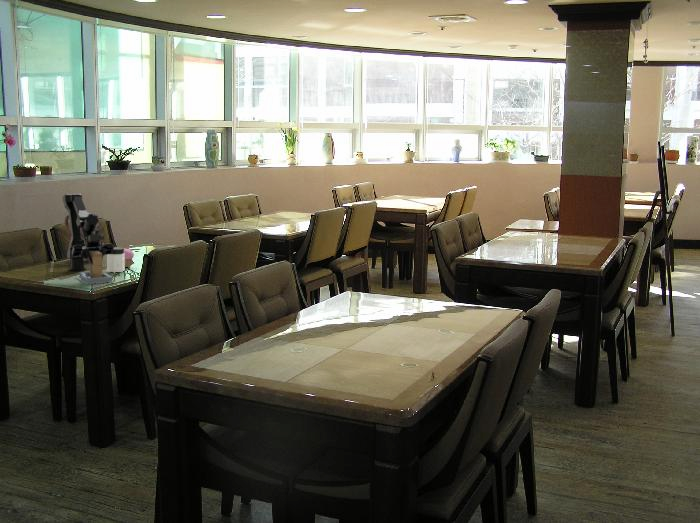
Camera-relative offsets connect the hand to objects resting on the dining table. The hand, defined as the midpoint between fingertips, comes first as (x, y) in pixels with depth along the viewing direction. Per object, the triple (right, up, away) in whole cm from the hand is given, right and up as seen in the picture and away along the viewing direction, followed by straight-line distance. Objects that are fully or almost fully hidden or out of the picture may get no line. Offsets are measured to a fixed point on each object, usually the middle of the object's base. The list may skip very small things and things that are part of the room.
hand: (96, 264), depth 370 cm
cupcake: (+2, -2, +40) cm, 40 cm away
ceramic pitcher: (-26, +2, +59) cm, 65 cm away
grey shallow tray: (-3, -8, +5) cm, 9 cm away
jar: (+1, -4, +28) cm, 29 cm away
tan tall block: (-1, -7, +2) cm, 7 cm away
